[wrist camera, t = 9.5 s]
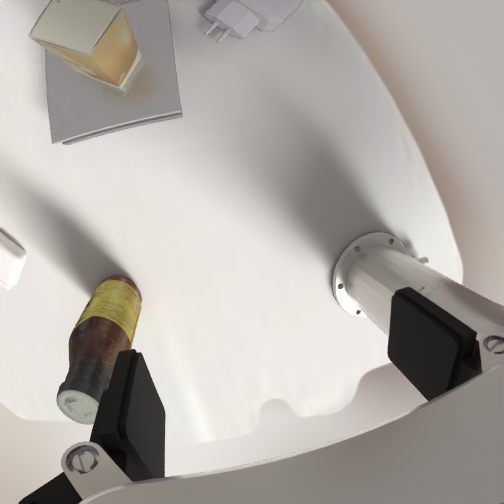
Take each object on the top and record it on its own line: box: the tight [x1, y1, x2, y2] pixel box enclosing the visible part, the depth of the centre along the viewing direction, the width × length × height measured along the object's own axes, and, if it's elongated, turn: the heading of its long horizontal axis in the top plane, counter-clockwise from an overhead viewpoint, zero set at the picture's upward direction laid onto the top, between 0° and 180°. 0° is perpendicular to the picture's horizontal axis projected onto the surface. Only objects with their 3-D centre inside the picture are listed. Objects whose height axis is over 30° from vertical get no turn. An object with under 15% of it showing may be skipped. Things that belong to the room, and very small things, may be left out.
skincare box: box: [29, 0, 142, 89], centre depth 20 cm, size 6×4×12 cm
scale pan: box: [46, 0, 181, 144], centre depth 27 cm, size 14×16×4 cm
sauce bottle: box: [57, 276, 142, 425], centre depth 29 cm, size 7×6×20 cm
